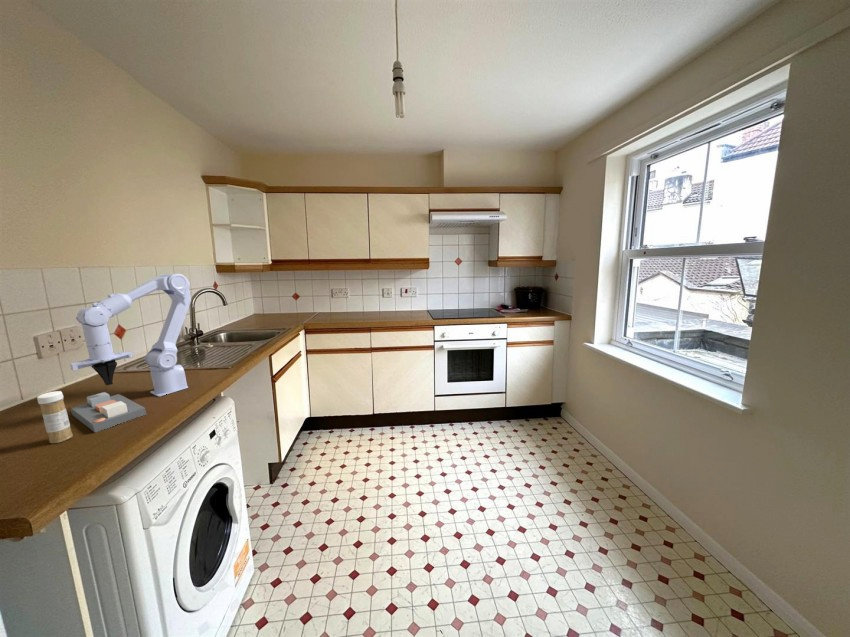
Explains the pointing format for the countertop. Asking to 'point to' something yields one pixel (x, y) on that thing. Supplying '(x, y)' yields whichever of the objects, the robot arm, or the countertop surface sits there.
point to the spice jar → (55, 416)
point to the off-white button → (114, 409)
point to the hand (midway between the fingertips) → (108, 384)
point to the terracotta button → (99, 406)
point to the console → (100, 422)
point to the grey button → (98, 399)
